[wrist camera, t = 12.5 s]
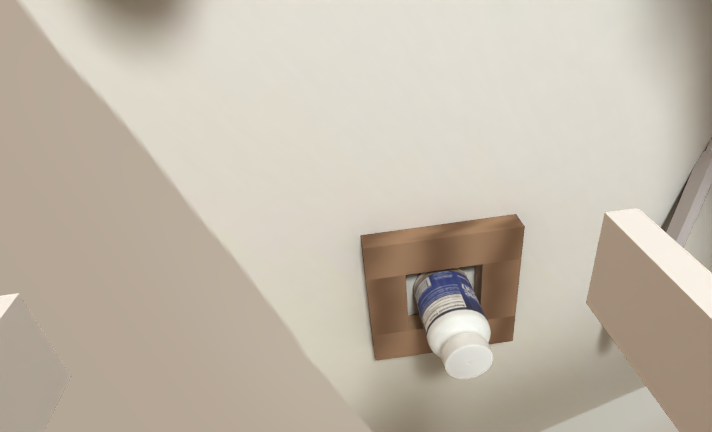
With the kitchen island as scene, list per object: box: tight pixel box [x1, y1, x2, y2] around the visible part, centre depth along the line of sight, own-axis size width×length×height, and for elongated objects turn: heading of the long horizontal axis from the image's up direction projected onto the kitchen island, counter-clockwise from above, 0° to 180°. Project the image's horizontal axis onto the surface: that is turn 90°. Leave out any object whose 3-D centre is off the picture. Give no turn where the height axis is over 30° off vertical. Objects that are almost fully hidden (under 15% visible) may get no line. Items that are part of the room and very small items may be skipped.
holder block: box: [361, 214, 525, 360], centre depth 46 cm, size 14×14×2 cm
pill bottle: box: [413, 268, 493, 379], centre depth 43 cm, size 5×5×10 cm
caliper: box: [666, 138, 712, 247], centre depth 44 cm, size 20×1×6 cm, turn 169°
